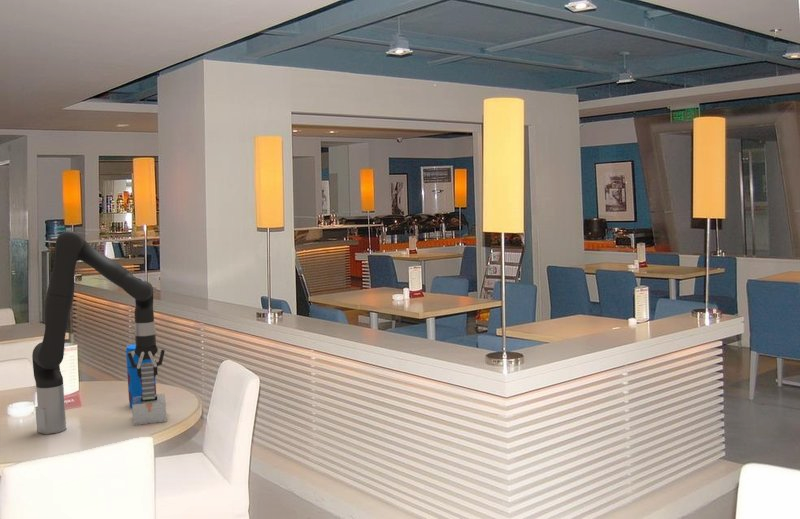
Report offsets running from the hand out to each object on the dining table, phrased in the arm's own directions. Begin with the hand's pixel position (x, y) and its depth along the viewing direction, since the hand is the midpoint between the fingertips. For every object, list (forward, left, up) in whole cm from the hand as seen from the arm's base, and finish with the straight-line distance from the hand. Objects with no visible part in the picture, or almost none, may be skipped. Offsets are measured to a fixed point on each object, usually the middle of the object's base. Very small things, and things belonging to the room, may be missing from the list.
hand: (147, 376), depth 303 cm
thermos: (+10, +19, -17) cm, 27 cm away
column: (0, 0, -11) cm, 11 cm away
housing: (0, 0, -17) cm, 17 cm away
